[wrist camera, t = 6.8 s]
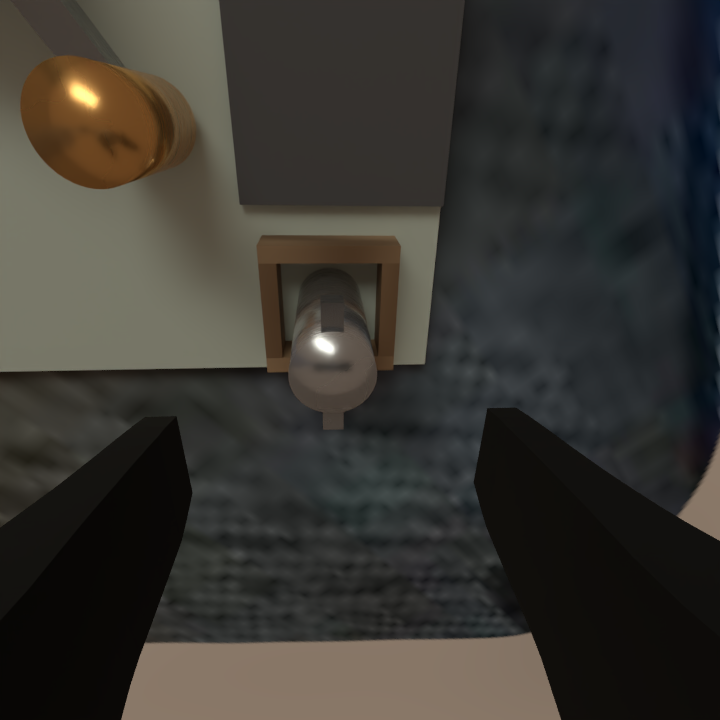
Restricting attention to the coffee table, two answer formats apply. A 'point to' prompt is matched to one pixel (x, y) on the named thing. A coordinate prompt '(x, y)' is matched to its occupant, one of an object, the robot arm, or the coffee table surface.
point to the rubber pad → (341, 99)
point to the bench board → (165, 225)
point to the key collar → (327, 252)
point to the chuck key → (331, 347)
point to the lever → (98, 105)
